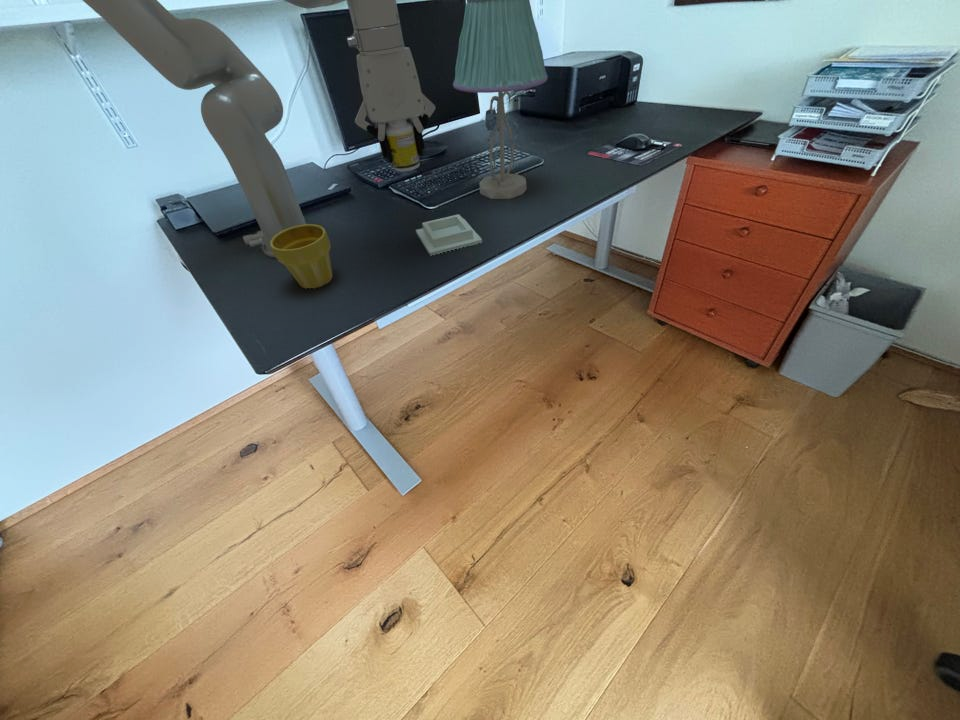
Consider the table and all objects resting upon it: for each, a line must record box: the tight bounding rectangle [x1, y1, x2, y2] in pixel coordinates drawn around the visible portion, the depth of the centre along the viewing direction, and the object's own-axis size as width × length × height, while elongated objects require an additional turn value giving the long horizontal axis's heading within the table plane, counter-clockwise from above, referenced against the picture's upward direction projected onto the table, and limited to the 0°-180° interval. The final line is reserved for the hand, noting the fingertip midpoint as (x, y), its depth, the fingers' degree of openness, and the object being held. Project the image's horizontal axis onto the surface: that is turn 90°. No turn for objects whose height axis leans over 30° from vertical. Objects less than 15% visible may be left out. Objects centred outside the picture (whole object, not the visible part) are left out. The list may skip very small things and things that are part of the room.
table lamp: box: [452, 0, 549, 200], centre depth 96 cm, size 22×22×40 cm
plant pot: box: [270, 223, 334, 290], centre depth 79 cm, size 10×10×10 cm
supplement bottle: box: [385, 119, 421, 173], centre depth 77 cm, size 5×5×10 cm
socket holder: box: [415, 214, 483, 257], centre depth 91 cm, size 12×12×3 cm
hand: (404, 156), depth 79 cm, fingers closed on supplement bottle, 5 cm apart
